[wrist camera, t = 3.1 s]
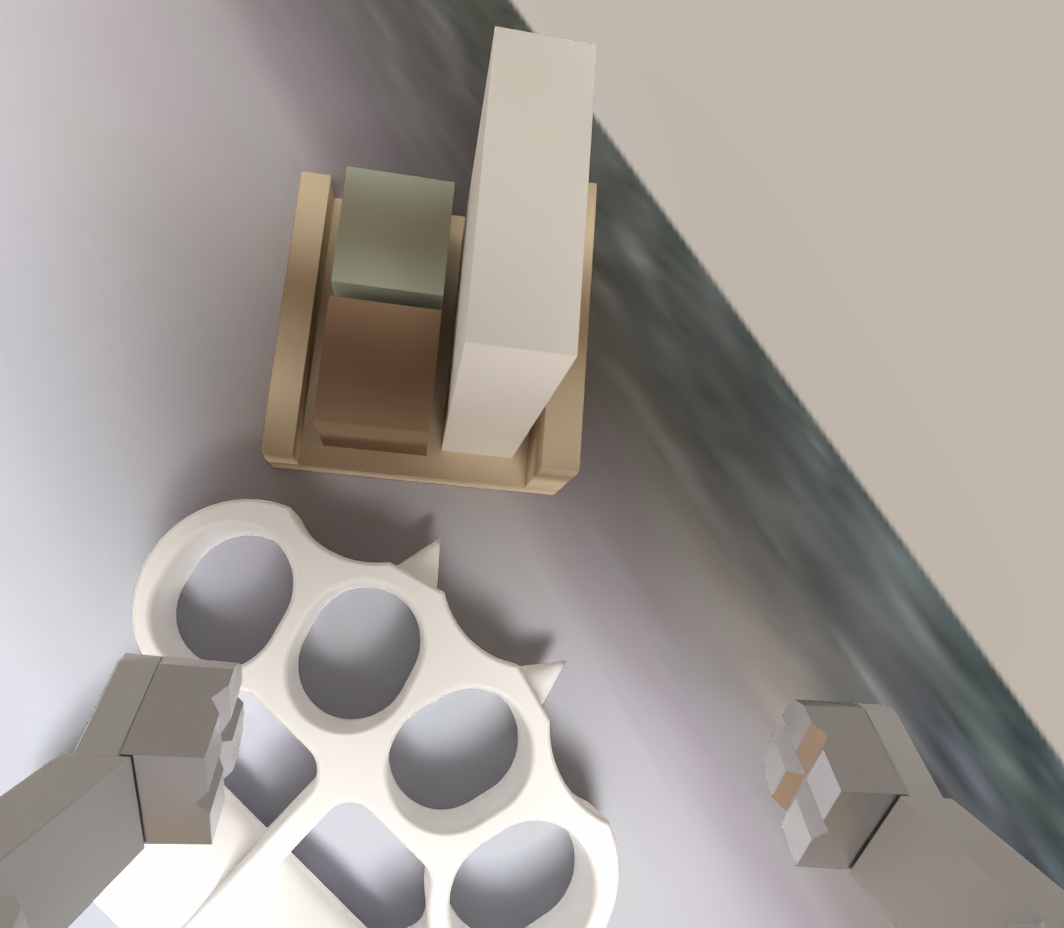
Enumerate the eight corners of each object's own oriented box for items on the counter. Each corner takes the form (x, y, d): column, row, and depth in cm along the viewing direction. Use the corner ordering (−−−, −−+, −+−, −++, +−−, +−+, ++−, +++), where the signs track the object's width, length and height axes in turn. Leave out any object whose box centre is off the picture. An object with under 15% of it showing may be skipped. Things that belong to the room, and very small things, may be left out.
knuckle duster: (-26, 740, 25) (319, 426, 29) (380, 1148, 25) (678, 778, 29) (-88, 757, 22) (310, 401, 26) (377, 1227, 22) (714, 797, 25)
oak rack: (553, 495, 30) (579, 472, 25) (272, 467, 28) (248, 437, 24) (570, 245, 32) (596, 183, 27) (309, 207, 30) (294, 136, 26)
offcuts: (426, 455, 28) (429, 432, 25) (323, 445, 28) (312, 420, 24) (448, 233, 30) (455, 182, 26) (353, 219, 29) (346, 165, 26)
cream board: (511, 458, 29) (577, 356, 18) (441, 450, 28) (464, 342, 18) (528, 250, 30) (597, 44, 20) (461, 240, 30) (494, 26, 19)
